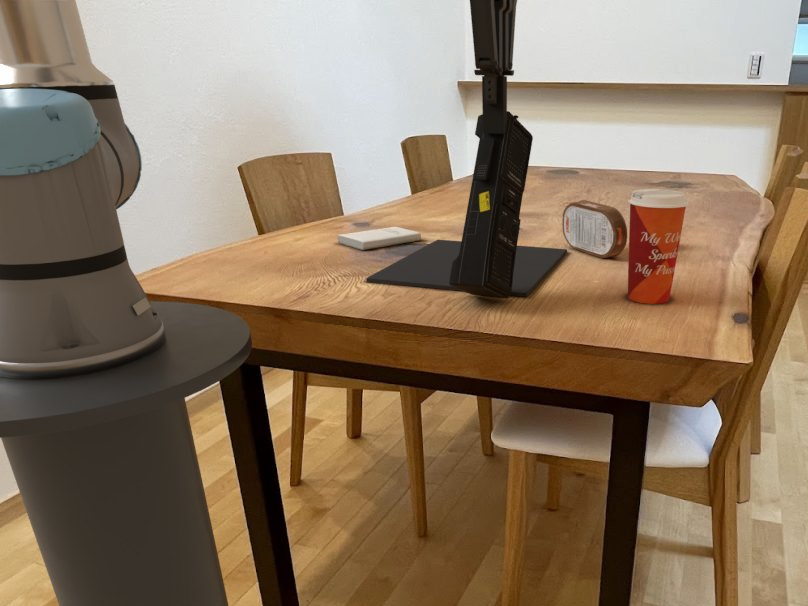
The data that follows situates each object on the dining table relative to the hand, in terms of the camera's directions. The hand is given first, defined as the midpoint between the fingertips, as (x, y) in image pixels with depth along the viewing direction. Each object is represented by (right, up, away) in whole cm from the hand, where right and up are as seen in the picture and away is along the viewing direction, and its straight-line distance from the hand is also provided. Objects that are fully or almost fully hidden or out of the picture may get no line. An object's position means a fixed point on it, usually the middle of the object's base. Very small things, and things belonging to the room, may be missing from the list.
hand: (494, 133), depth 83 cm
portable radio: (-2, -20, +2) cm, 20 cm away
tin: (+16, -9, +31) cm, 36 cm away
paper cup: (+21, -20, +7) cm, 30 cm away
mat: (-4, -13, +22) cm, 26 cm away
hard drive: (-22, -6, +37) cm, 43 cm away
